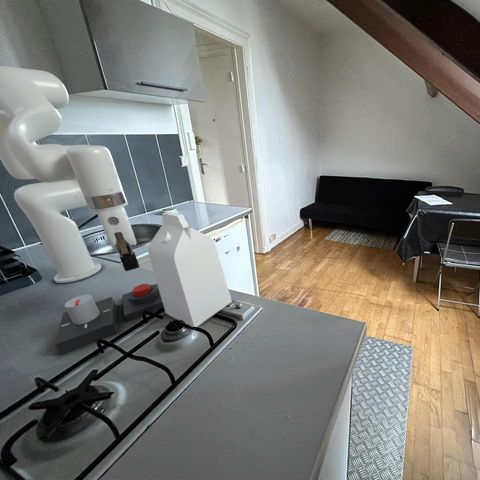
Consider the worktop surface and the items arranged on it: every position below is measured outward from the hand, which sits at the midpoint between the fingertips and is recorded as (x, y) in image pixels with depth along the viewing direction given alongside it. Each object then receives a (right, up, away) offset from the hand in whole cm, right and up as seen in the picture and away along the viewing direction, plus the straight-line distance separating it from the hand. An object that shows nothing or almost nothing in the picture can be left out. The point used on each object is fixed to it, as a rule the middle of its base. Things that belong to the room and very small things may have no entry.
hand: (132, 268), depth 69 cm
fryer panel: (-6, -14, -5) cm, 16 cm away
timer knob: (-7, -11, -6) cm, 14 cm away
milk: (+18, -11, 0) cm, 21 cm away
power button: (+1, -7, +3) cm, 8 cm away
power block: (+1, -10, +4) cm, 11 cm away
